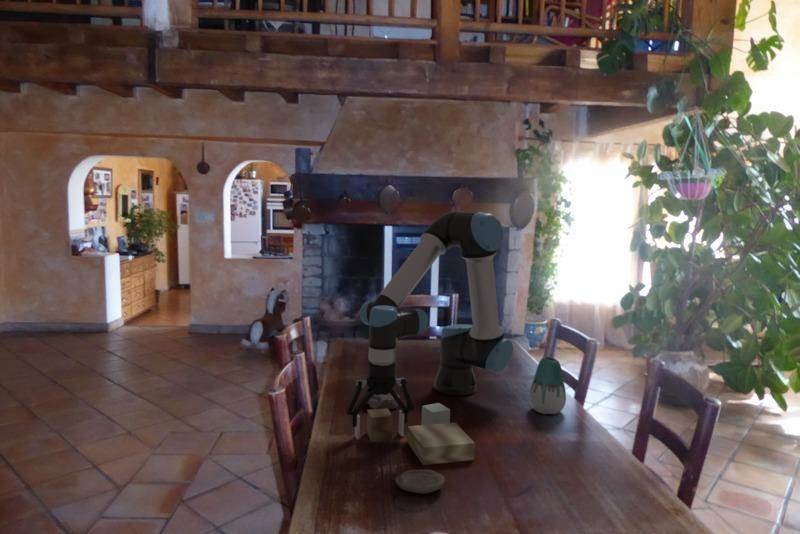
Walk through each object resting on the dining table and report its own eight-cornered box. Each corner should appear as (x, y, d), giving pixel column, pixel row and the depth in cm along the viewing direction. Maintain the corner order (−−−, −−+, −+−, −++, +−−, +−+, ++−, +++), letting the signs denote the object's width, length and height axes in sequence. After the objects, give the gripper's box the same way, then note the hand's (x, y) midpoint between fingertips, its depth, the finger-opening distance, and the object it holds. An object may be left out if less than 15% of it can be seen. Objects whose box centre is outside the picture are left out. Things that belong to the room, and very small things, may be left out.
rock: (403, 410, 186) (403, 396, 185) (368, 412, 183) (368, 398, 182) (397, 401, 193) (397, 388, 193) (363, 403, 191) (363, 390, 190)
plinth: (454, 439, 165) (455, 422, 164) (473, 461, 152) (474, 442, 151) (407, 443, 161) (407, 426, 161) (423, 466, 148) (423, 447, 147)
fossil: (398, 479, 142) (398, 467, 142) (445, 481, 141) (445, 469, 140) (392, 497, 132) (392, 484, 131) (443, 499, 130) (443, 487, 130)
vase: (567, 409, 192) (571, 356, 189) (561, 420, 181) (565, 364, 179) (532, 402, 196) (535, 351, 194) (524, 413, 186) (528, 359, 184)
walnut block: (387, 431, 168) (387, 408, 167) (392, 440, 162) (392, 416, 161) (366, 433, 166) (367, 409, 166) (371, 441, 161) (371, 417, 160)
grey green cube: (438, 421, 177) (438, 402, 176) (449, 428, 172) (450, 409, 171) (421, 425, 174) (422, 405, 173) (432, 432, 169) (433, 412, 168)
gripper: (419, 356, 168) (416, 427, 171) (336, 359, 162) (334, 433, 165) (427, 363, 161) (424, 438, 164) (340, 367, 155) (338, 444, 157)
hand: (379, 435), depth 164 cm, fingers open, 12 cm apart
